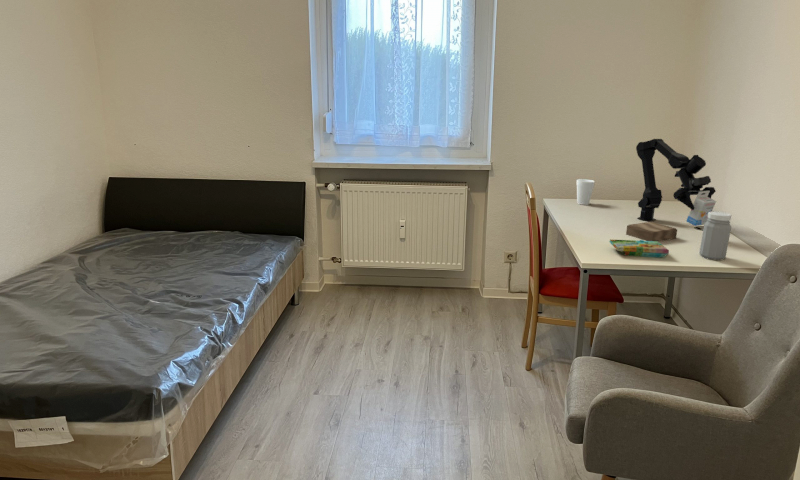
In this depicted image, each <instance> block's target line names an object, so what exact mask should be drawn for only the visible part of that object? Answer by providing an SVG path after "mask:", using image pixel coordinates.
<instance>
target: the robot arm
mask: <svg viewBox="0 0 800 480" xmlns="http://www.w3.org/2000/svg"><path fill="white" fill-rule="evenodd" d="M635 150H636V154H637V156H638V158H639V159H640V160H641V165H642V172H643V181H644V186H645V187H644V190H643V192H642V198H641V199H640V200H639V201H638V202H637V207H638V208H641V210H640V215H639V217H637V219H638V220H642V221H645V222H654V221H656V220H657V219H656V218H654V216H655V209H659V207H660V206H661V204H662V201H663V194H662V190H661V189H658V188H657V184H656V175H655V169H654V161H653V158H654V157H655V153H656V150H657V151H658V152H659V153H660V154H661V155H662V156H664V157H665V158H666V159H667V161H668V162H667V163H668V164H669V166H670V167H671V168H672V169H674V170H676V169H677V170H676V171H675V174H674V178H679V179H680V181H681V184H680V186H681V187H679V188H678V189H676V190H675V192H673V199H674V200H677V201H678V202H680V203H682V204H683V205H685V206H686V207H687V208H689V209H690V210H691V209H692V210H693V209H694V206H693V204H694V202H692V199H691V196H697V195H698V193H699V192H701V191H710V192H709V194H708V196H707V197H709V198H711V199H712V196H714V193H716V191H717V190H716V188H715V187H714V186H708V185H709V184H710V183H712V181H711V180H712V179H711V177H710V176H709V175H706V176H702V177H695V175H696V174H697V173H699V172H700V171H701V170H702V169H703V168H704V167H706V164H707V163H706V160H704V158H702V157H701V156H700V155H698V154H694V155H692V156H691V158H690V157H688V156H687V155H684V154H683V153H679V152H677V151H675V150H674V149H673V148H672V147H671V146H670V145H669V144H667V143H666V142H665V141H664V139H662V138H653V139H650V140H647V141H646V140H645V141H640V142H638V143H637V144H636V147H635ZM704 186H705V187H704ZM703 187H704V188H703ZM702 188H703V189H702ZM704 194H705V193H703V194H701V195H704Z"/></svg>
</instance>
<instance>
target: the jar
mask: <svg viewBox="0 0 800 480" xmlns="http://www.w3.org/2000/svg"><path fill="white" fill-rule="evenodd" d="M731 219H732V214H731V213H729V212H724V211H713V210H712V212H709V213H708V219H707V222H706V223H705V224H704V225H703V230H702V236H701V241H700V246H699V255H700V256H701V257H702V258H703V257H704V258H703V259H707V258H708V259H707V260H711V259H716V260H715V261H721V260H720V259H723V260H724V259H725V258H726V257H727V252H728V247H729V241H730V235H731V230H732V225H731Z"/></svg>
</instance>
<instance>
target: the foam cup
mask: <svg viewBox="0 0 800 480" xmlns="http://www.w3.org/2000/svg"><path fill="white" fill-rule="evenodd" d="M595 183H596V182H595V180H592V179H585V178H578V179H576V183H575V184H576V203H578V205H580V204H581V205H580V206H588V205H589V204H590V203H591V202H590V201H591V198H592V194H593V191H594V186H595Z"/></svg>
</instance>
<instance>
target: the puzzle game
mask: <svg viewBox="0 0 800 480" xmlns="http://www.w3.org/2000/svg"><path fill="white" fill-rule="evenodd" d="M609 243H610V245H611V246H612V247H614V249H616V251H618V252H622V254H623V255H624V256H627V257H647V258H649V257H650V258H663V257H664V258H665V257H666V256H667V255H668V254H669V252H670V250H669V249H668V248H667V247H665V246H664V245H663V244H662V243H661V242H660V241H646V240H642V239H639V240H634V239H633V240H632V239H631V240H630V239H609Z"/></svg>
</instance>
